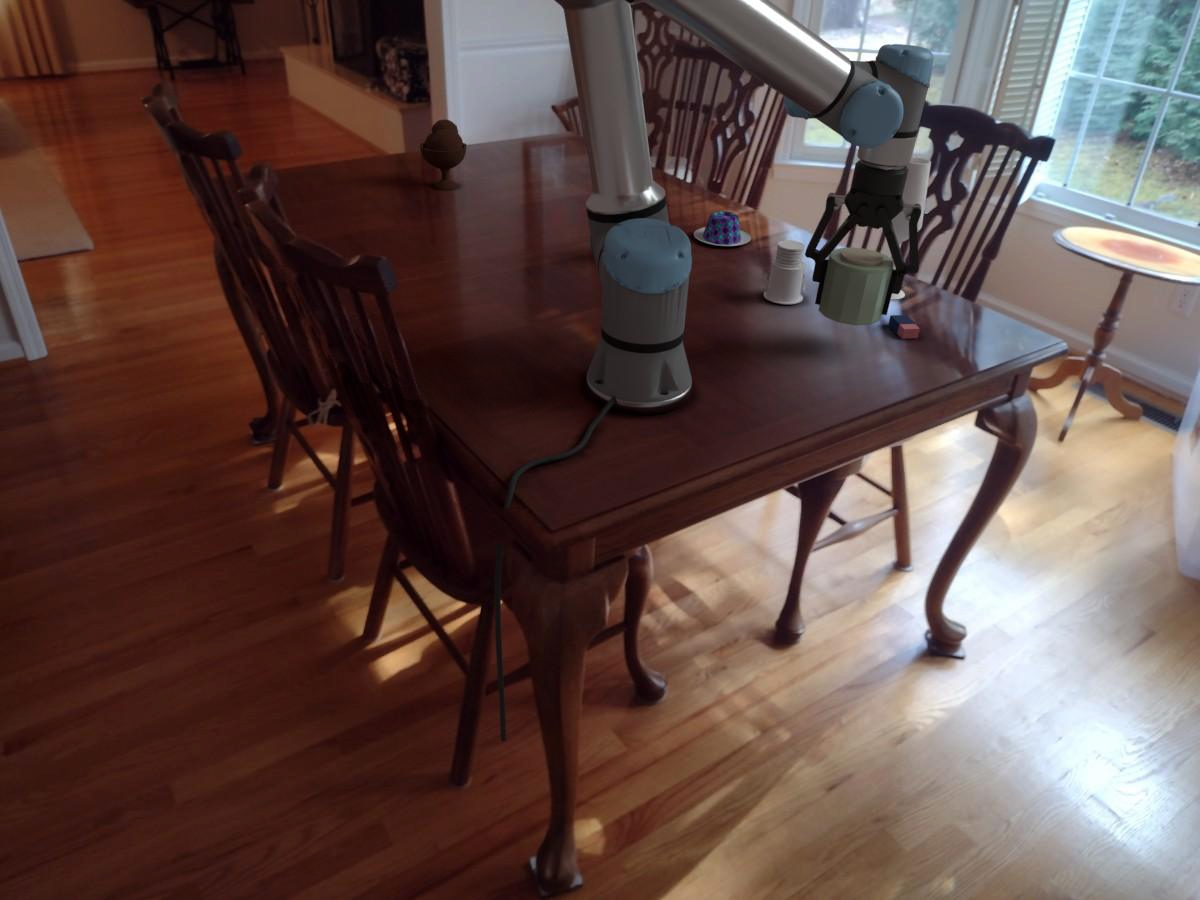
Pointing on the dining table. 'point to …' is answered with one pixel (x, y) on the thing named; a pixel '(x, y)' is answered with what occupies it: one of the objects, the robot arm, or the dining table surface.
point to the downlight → (786, 274)
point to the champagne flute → (912, 201)
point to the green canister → (855, 286)
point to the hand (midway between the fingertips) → (850, 306)
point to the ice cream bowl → (444, 151)
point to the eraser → (903, 326)
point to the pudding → (722, 230)
